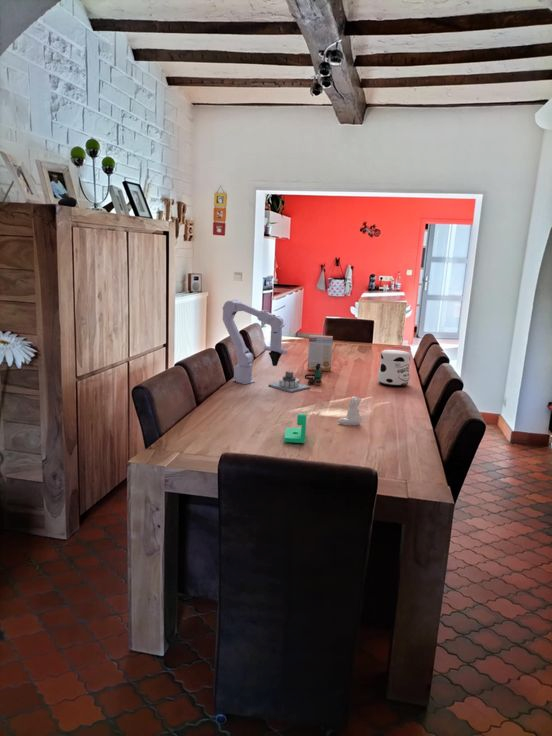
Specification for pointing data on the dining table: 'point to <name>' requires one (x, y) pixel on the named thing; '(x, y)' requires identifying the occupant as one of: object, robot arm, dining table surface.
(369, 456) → the dining table surface
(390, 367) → the milk container
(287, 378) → the grey rounded knob
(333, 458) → the dining table surface
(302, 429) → the camera mount
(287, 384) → the segmented white ring
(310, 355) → the cracker box
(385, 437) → the dining table surface
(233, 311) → the robot arm
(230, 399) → the dining table surface
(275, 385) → the mount plate
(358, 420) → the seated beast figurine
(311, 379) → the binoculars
